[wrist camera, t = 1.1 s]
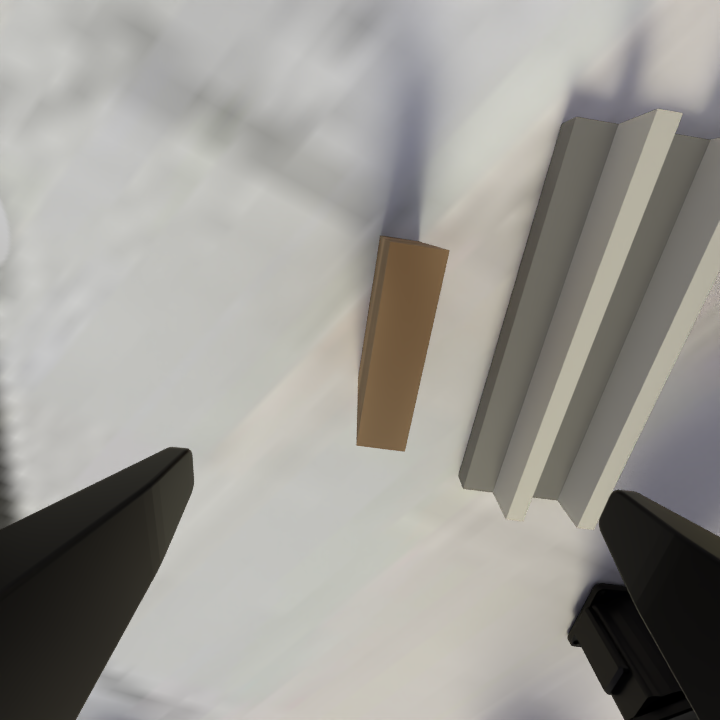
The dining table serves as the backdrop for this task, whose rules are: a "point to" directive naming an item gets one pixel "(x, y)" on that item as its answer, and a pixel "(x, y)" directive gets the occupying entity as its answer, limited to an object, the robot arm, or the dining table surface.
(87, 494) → the robot arm
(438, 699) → the dining table surface
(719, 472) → the dining table surface
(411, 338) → the door panel
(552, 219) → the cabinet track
